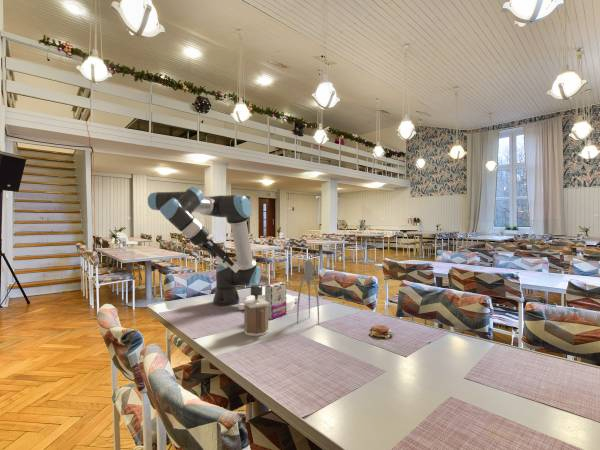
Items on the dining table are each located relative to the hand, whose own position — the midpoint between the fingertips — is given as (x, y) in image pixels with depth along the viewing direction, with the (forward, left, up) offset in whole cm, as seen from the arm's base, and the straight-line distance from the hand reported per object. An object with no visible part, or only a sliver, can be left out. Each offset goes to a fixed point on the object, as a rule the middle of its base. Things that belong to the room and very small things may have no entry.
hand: (232, 268), depth 130 cm
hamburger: (+31, +55, -29) cm, 70 cm away
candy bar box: (-16, +28, -29) cm, 43 cm away
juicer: (-2, +39, -29) cm, 48 cm away
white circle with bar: (-34, +33, -29) cm, 55 cm away
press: (+1, +11, -29) cm, 31 cm away
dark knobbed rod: (0, +11, -26) cm, 28 cm away
